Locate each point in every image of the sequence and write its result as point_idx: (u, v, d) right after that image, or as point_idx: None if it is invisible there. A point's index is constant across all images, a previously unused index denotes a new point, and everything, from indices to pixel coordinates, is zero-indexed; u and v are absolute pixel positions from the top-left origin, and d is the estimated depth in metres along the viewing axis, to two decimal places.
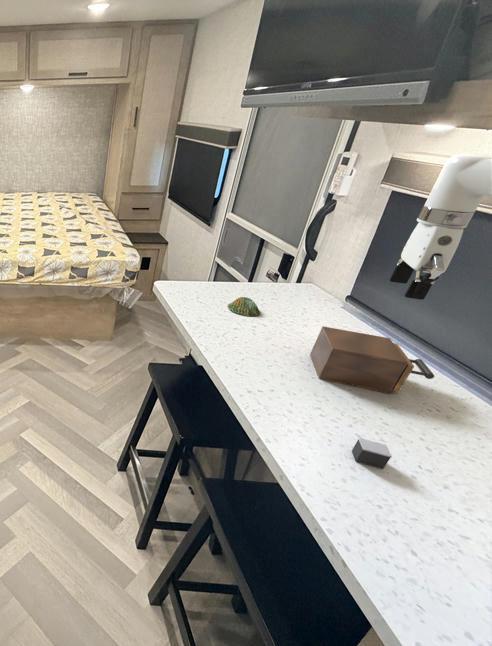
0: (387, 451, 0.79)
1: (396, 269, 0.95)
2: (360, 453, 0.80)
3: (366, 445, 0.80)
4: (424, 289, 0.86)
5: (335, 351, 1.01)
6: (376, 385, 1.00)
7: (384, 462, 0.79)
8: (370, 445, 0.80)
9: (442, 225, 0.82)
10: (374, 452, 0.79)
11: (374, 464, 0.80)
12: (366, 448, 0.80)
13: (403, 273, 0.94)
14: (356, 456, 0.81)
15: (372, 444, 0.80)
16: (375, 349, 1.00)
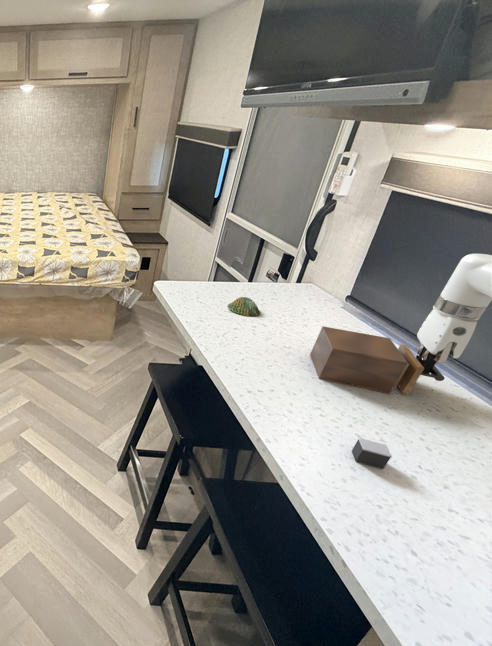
0: (387, 451, 0.79)
1: None
2: (360, 453, 0.80)
3: (366, 445, 0.80)
4: (429, 366, 0.98)
5: (335, 351, 1.01)
6: (376, 385, 1.00)
7: (384, 462, 0.79)
8: (370, 445, 0.80)
9: (457, 317, 0.90)
10: (374, 452, 0.79)
11: (374, 464, 0.80)
12: (366, 448, 0.80)
13: None
14: (356, 456, 0.81)
15: (372, 444, 0.80)
16: (375, 349, 1.00)
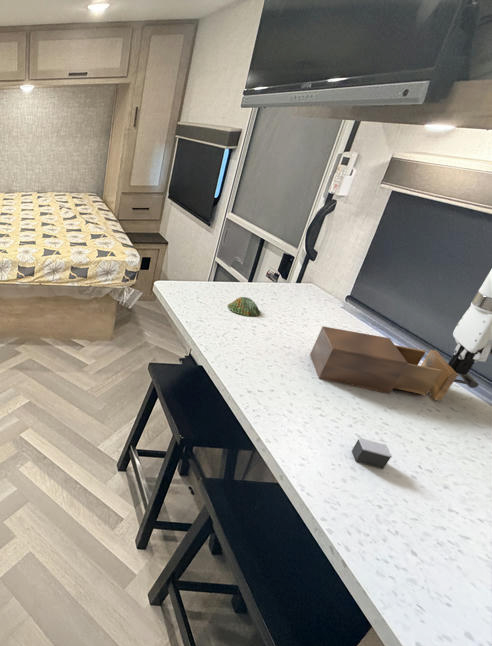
0: (387, 451, 0.79)
1: (453, 358, 0.96)
2: (360, 453, 0.80)
3: (366, 445, 0.80)
4: (467, 366, 0.94)
5: (335, 351, 1.01)
6: (376, 385, 1.00)
7: (384, 462, 0.79)
8: (370, 445, 0.80)
9: None
10: (374, 452, 0.79)
11: (374, 464, 0.80)
12: (366, 448, 0.80)
13: None
14: (356, 456, 0.81)
15: (372, 444, 0.80)
16: (375, 349, 1.00)
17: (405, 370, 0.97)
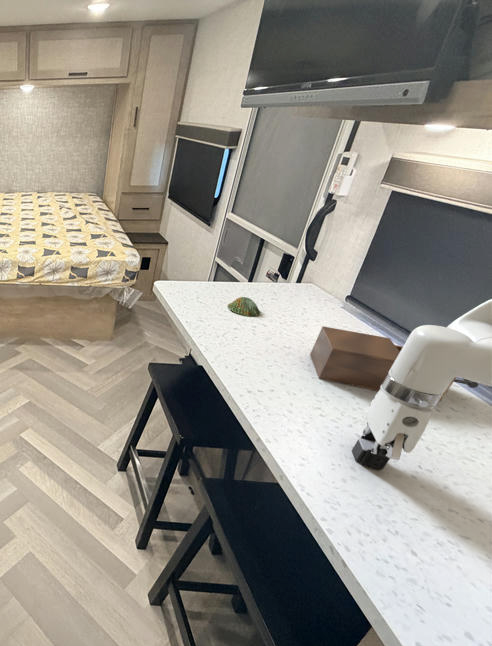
0: None
1: None
2: (360, 453, 0.80)
3: (366, 445, 0.80)
4: (381, 462, 0.78)
5: (335, 351, 1.01)
6: (376, 385, 1.00)
7: None
8: (370, 445, 0.80)
9: (407, 403, 0.71)
10: None
11: None
12: (366, 448, 0.80)
13: None
14: (356, 456, 0.81)
15: (372, 444, 0.80)
16: (375, 349, 1.00)
17: None
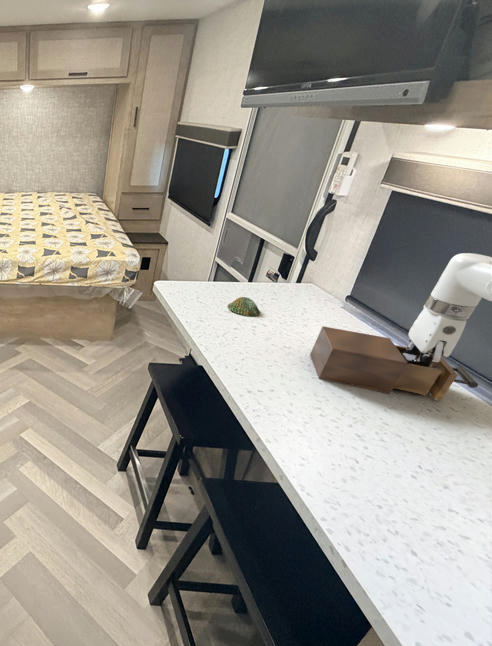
0: None
1: None
2: None
3: (409, 357, 1.00)
4: None
5: (335, 351, 1.01)
6: (376, 385, 1.00)
7: None
8: (412, 357, 1.00)
9: (447, 316, 0.90)
10: None
11: None
12: (409, 359, 0.99)
13: None
14: None
15: (414, 357, 1.00)
16: (375, 349, 1.00)
17: (405, 370, 0.97)
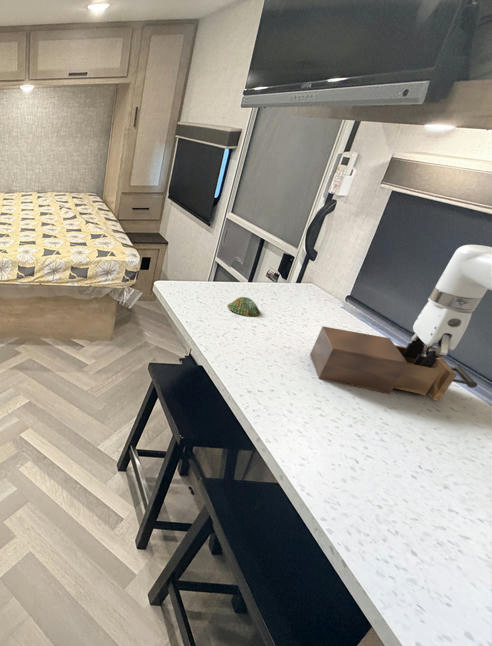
0: None
1: (409, 346, 1.01)
2: None
3: None
4: (429, 363, 0.95)
5: (335, 351, 1.01)
6: (376, 385, 1.00)
7: None
8: None
9: (452, 308, 0.89)
10: None
11: None
12: None
13: (416, 350, 1.01)
14: None
15: None
16: (375, 349, 1.00)
17: (404, 370, 0.97)
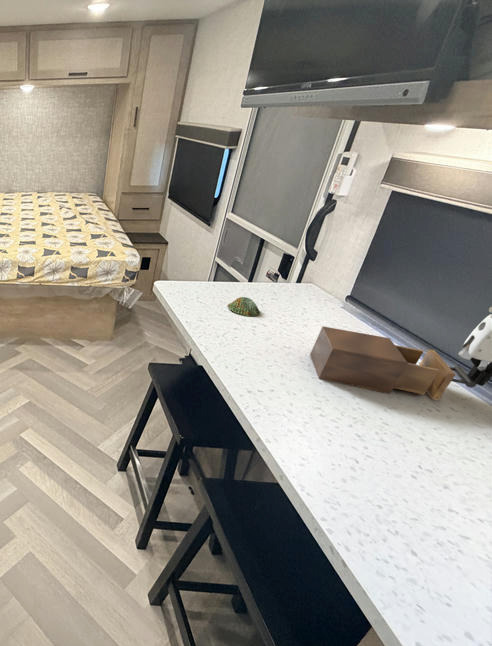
0: None
1: None
2: None
3: None
4: (473, 372, 0.95)
5: (335, 351, 1.01)
6: (376, 385, 1.00)
7: None
8: None
9: None
10: None
11: None
12: None
13: None
14: None
15: None
16: (375, 349, 1.00)
17: (403, 370, 0.97)
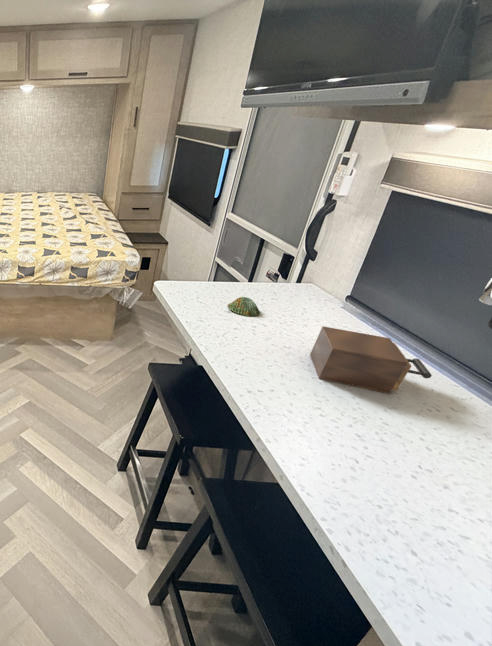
0: None
1: None
2: None
3: None
4: None
5: (335, 351, 1.01)
6: (376, 385, 1.00)
7: None
8: None
9: None
10: None
11: None
12: None
13: None
14: None
15: None
16: (375, 349, 1.00)
17: None
